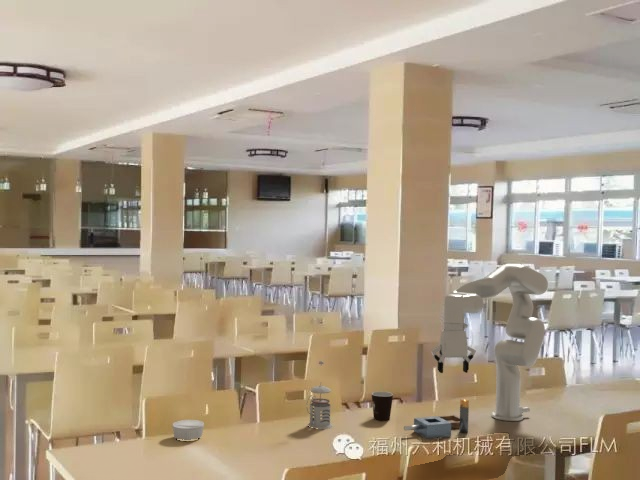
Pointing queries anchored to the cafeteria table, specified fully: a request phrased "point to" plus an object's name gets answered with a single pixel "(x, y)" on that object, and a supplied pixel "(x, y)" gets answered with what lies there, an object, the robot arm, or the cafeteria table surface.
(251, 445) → the cafeteria table surface
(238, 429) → the cafeteria table surface
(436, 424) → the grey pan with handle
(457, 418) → the tray
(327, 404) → the french press
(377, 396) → the coffee mug
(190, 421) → the ramekin
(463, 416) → the orange grey cylinder
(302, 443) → the cafeteria table surface
